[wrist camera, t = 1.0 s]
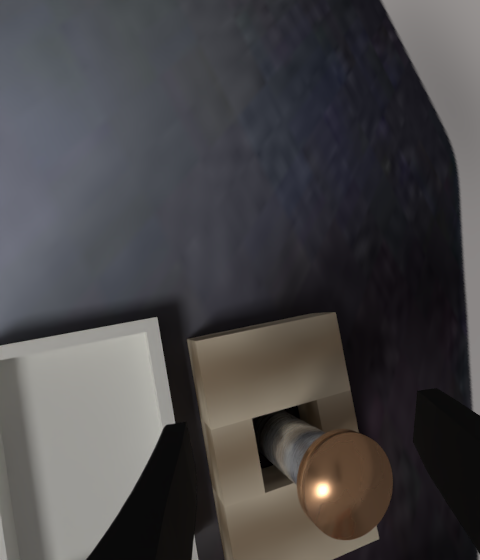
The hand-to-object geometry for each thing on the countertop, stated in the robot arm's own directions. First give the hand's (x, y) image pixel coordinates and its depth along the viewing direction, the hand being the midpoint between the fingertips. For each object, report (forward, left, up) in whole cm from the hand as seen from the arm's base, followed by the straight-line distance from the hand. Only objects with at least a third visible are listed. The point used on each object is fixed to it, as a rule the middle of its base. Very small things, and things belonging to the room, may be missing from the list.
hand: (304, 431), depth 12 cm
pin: (-4, -4, -13) cm, 14 cm away
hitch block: (-4, -4, -13) cm, 14 cm away
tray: (-2, +7, -13) cm, 15 cm away
